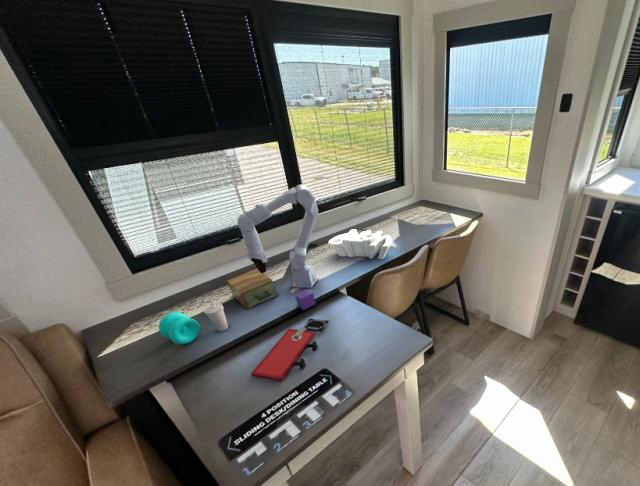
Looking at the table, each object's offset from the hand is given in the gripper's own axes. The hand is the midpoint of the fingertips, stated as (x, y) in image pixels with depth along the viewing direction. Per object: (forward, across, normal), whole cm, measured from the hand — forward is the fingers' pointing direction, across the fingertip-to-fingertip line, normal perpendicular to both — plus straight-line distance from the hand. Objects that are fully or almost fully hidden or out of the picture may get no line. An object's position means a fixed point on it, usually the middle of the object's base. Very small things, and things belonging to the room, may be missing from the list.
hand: (263, 272), depth 137 cm
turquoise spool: (+10, +6, -37) cm, 39 cm away
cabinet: (+10, -2, -6) cm, 12 cm away
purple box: (+10, +23, +5) cm, 26 cm away
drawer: (+9, +2, -6) cm, 11 cm away
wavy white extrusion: (+10, +4, +52) cm, 54 cm away
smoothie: (+10, +11, -25) cm, 29 cm away
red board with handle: (+10, +44, -11) cm, 46 cm away
